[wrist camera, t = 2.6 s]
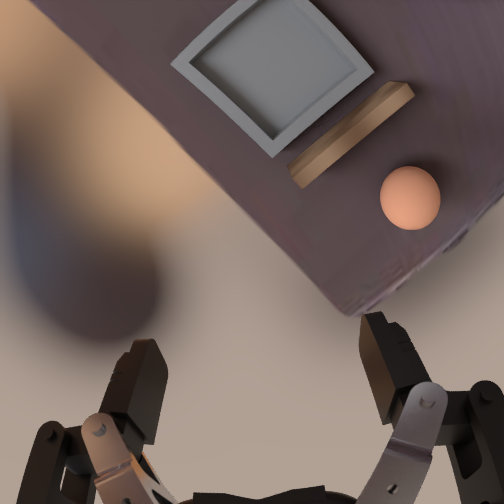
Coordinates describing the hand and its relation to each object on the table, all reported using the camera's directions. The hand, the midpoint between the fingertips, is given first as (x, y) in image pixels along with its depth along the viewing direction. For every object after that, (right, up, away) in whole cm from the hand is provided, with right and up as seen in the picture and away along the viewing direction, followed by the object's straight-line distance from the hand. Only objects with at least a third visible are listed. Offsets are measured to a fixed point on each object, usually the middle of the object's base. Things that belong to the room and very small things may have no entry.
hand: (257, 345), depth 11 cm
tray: (+1, +18, +10) cm, 21 cm away
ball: (+14, +8, +13) cm, 20 cm away
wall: (+8, +14, +13) cm, 20 cm away
